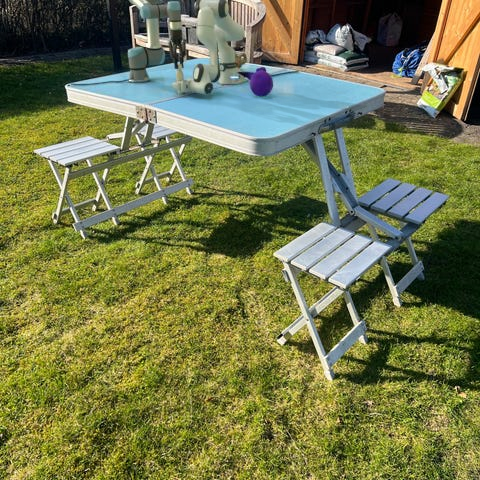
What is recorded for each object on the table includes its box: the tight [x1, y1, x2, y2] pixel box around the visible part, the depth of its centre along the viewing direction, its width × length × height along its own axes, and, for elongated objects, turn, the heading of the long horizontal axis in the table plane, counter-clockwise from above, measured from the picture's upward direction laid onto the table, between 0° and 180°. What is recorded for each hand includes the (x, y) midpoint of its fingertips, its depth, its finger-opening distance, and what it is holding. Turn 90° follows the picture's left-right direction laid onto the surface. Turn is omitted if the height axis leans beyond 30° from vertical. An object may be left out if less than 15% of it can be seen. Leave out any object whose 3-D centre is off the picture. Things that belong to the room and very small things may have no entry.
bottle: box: [175, 68, 186, 95], centre depth 298 cm, size 5×5×18 cm
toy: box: [237, 66, 274, 97], centre depth 289 cm, size 16×18×27 cm
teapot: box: [235, 51, 248, 70], centre depth 367 cm, size 21×12×15 cm, turn 120°
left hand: (179, 68), depth 294 cm, fingers closed on cap, 4 cm apart
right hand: (179, 82), depth 299 cm, fingers closed on bottle, 5 cm apart
